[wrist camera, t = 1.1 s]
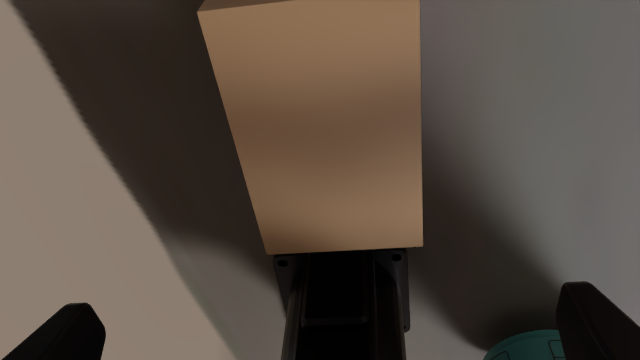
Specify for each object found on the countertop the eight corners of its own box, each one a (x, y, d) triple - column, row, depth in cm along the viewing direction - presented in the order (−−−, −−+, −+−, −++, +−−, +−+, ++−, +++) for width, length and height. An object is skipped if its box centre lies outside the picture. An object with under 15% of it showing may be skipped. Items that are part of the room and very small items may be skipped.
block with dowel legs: (407, 139, 20) (423, 246, 16) (286, 149, 21) (266, 254, 16) (400, -76, 16) (418, -15, 11) (243, -55, 16) (196, 12, 11)
